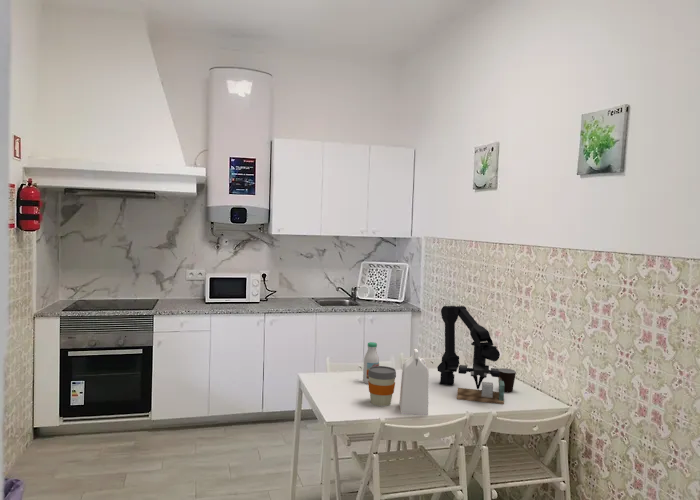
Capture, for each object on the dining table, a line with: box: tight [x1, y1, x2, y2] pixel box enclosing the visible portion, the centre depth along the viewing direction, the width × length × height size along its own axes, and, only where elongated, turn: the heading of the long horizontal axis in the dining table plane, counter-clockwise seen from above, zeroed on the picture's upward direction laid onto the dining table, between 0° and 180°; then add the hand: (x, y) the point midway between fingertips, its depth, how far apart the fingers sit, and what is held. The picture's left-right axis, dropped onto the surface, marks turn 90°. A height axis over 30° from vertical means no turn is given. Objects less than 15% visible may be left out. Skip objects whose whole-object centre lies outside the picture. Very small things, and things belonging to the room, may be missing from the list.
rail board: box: [456, 380, 505, 405], centre depth 265 cm, size 21×12×8 cm, turn 78°
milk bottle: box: [362, 341, 380, 385], centre depth 282 cm, size 8×8×20 cm
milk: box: [398, 348, 430, 416], centre depth 244 cm, size 12×12×26 cm
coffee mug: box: [497, 367, 517, 393], centre depth 280 cm, size 12×9×10 cm
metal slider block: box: [481, 381, 494, 398], centre depth 264 cm, size 5×6×6 cm
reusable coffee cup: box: [367, 365, 397, 407], centre depth 252 cm, size 13×12×15 cm
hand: (477, 389), depth 265 cm, fingers closed
